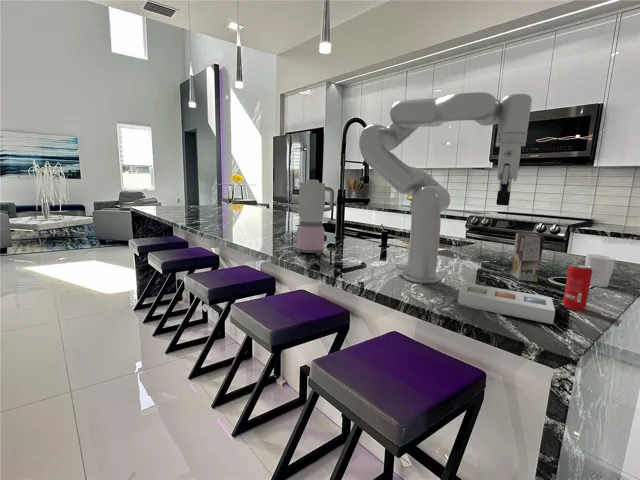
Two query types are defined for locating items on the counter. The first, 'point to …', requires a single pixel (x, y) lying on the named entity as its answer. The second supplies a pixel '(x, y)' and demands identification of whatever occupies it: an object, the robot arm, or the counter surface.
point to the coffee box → (527, 256)
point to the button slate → (535, 300)
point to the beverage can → (577, 287)
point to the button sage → (477, 290)
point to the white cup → (600, 269)
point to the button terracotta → (505, 295)
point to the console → (507, 303)
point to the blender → (312, 216)
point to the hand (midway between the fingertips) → (502, 205)
